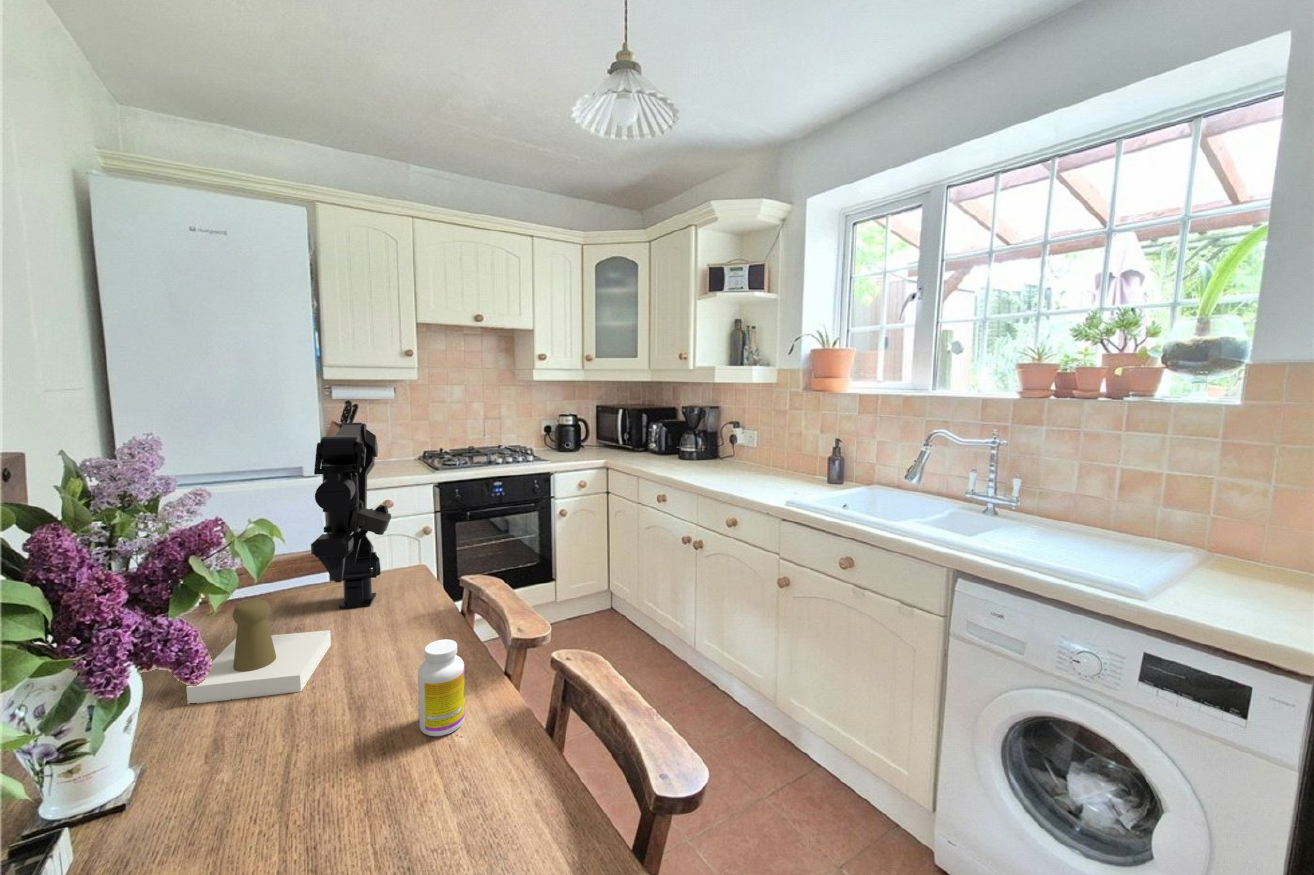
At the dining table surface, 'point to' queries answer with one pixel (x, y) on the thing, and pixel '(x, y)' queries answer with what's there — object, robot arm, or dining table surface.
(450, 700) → the supplement bottle
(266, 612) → the cork
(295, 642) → the base block
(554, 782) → the dining table surface
